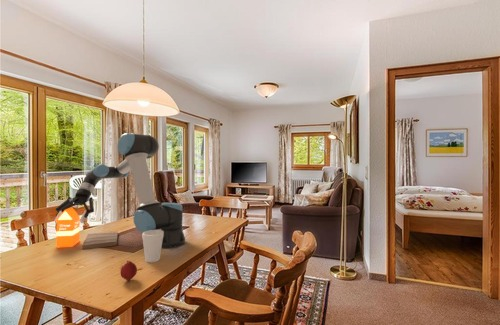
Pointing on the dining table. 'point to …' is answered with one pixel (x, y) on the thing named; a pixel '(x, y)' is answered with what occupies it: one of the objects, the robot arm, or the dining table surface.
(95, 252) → the dining table surface
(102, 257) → the dining table surface
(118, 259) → the dining table surface
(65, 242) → the orange juice
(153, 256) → the foam cup
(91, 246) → the walnut board
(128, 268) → the onion
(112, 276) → the dining table surface
